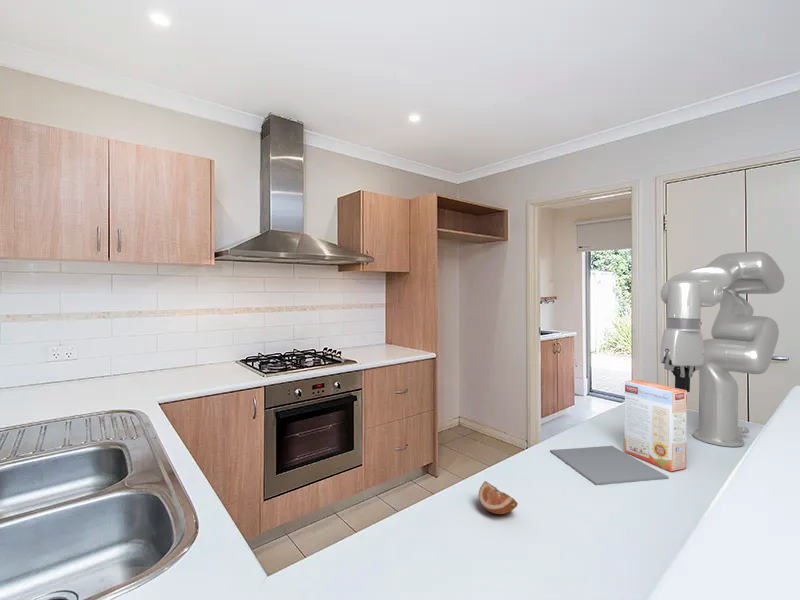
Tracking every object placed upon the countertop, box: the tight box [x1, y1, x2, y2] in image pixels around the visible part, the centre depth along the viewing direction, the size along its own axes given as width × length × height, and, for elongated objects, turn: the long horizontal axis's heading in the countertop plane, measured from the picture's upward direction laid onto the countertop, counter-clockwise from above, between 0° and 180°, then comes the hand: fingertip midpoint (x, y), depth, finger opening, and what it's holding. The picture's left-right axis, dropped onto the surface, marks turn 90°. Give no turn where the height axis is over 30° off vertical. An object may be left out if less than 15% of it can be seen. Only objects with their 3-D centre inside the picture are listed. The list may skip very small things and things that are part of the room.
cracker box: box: [623, 379, 688, 473], centre depth 108 cm, size 14×6×21 cm, turn 20°
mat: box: [549, 445, 669, 486], centre depth 106 cm, size 20×20×1 cm
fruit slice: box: [478, 480, 519, 515], centre depth 82 cm, size 8×7×5 cm
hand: (682, 390), depth 109 cm, fingers closed
